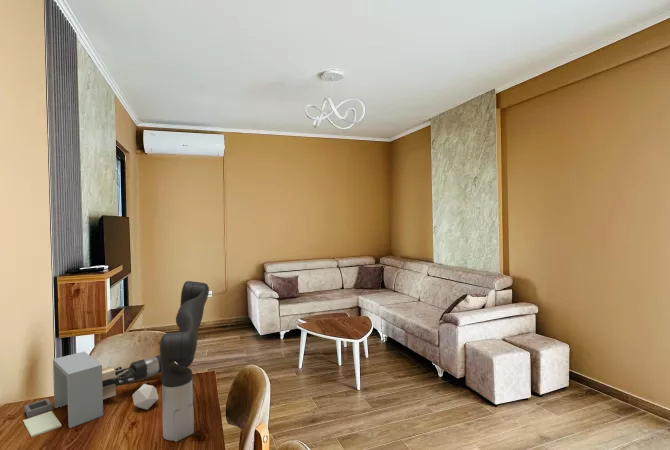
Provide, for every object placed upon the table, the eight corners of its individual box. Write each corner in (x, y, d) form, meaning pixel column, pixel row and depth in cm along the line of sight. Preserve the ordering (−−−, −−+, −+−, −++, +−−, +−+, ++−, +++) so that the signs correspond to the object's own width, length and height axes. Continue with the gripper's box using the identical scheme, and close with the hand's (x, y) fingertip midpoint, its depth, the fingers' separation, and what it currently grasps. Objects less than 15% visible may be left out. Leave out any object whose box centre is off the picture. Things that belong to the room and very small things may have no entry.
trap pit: (52, 410, 133) (52, 404, 133) (28, 419, 128) (27, 412, 128) (48, 404, 138) (47, 398, 138) (24, 412, 132) (24, 405, 132)
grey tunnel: (103, 415, 129) (101, 364, 129) (69, 428, 122) (68, 374, 122) (85, 397, 143) (84, 351, 143) (54, 407, 135) (52, 359, 135)
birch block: (115, 395, 140) (115, 369, 140) (101, 400, 136) (100, 374, 136) (111, 391, 143) (110, 366, 143) (96, 396, 139) (96, 370, 139)
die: (163, 405, 137) (160, 380, 142) (151, 404, 130) (148, 378, 134) (142, 414, 136) (139, 389, 141) (129, 414, 129) (126, 387, 133)
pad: (61, 426, 123) (61, 424, 123) (31, 437, 117) (31, 435, 117) (51, 412, 132) (51, 410, 132) (23, 421, 126) (23, 420, 126)
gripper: (137, 355, 155) (91, 368, 142) (151, 363, 145) (104, 378, 133) (138, 372, 155) (92, 387, 142) (152, 382, 146) (104, 398, 133)
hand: (98, 382), depth 137 cm, fingers closed on birch block, 5 cm apart
